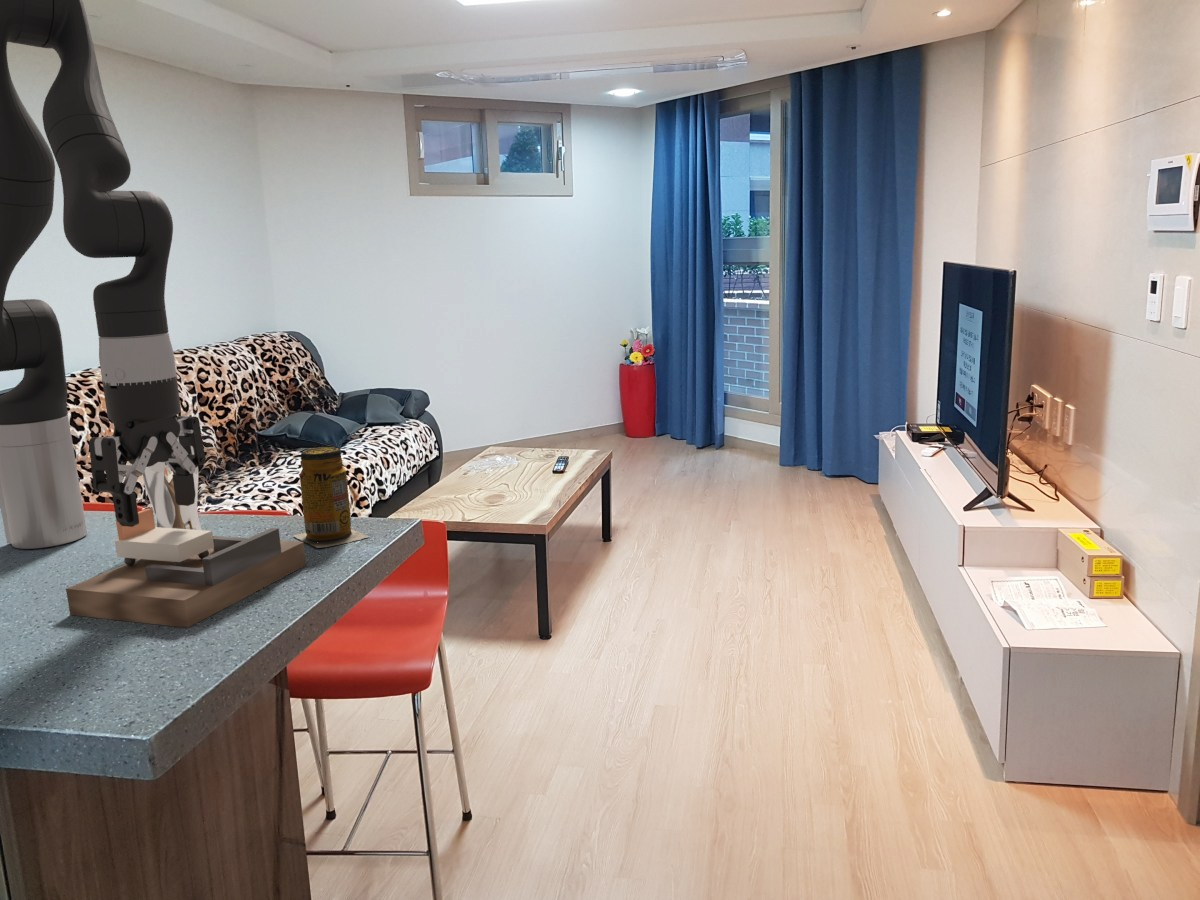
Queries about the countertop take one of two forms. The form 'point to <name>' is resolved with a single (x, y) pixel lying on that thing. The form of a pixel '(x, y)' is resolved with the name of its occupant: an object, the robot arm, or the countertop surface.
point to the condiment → (325, 499)
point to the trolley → (160, 542)
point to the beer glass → (169, 498)
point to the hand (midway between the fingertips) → (158, 514)
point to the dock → (188, 582)
